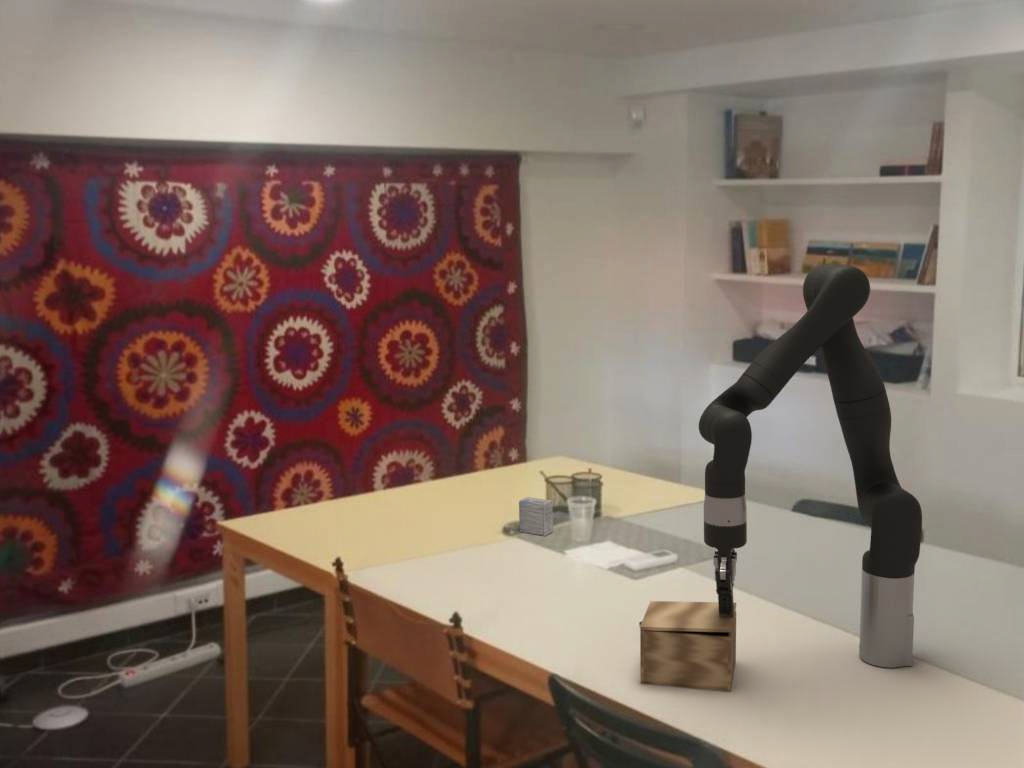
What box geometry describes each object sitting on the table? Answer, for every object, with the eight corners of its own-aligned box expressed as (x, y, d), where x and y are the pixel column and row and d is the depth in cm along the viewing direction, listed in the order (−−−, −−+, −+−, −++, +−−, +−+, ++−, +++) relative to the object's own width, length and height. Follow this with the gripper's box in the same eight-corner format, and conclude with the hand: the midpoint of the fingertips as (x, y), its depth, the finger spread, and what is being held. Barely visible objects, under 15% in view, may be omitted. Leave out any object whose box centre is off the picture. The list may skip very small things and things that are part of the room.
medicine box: (553, 532, 290) (553, 500, 288) (544, 536, 286) (544, 504, 284) (527, 528, 294) (527, 496, 292) (519, 532, 290) (518, 500, 289)
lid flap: (736, 605, 205) (734, 576, 205) (731, 632, 193) (729, 601, 192) (650, 604, 210) (648, 575, 209) (640, 630, 197) (638, 600, 197)
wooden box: (735, 661, 207) (736, 611, 206) (730, 691, 195) (731, 638, 193) (650, 654, 211) (650, 604, 210) (640, 683, 199) (640, 630, 197)
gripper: (744, 530, 189) (744, 626, 192) (748, 508, 202) (749, 598, 205) (700, 528, 191) (701, 624, 194) (707, 506, 204) (708, 596, 207)
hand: (725, 610), depth 199 cm, fingers closed on lid flap, 2 cm apart
